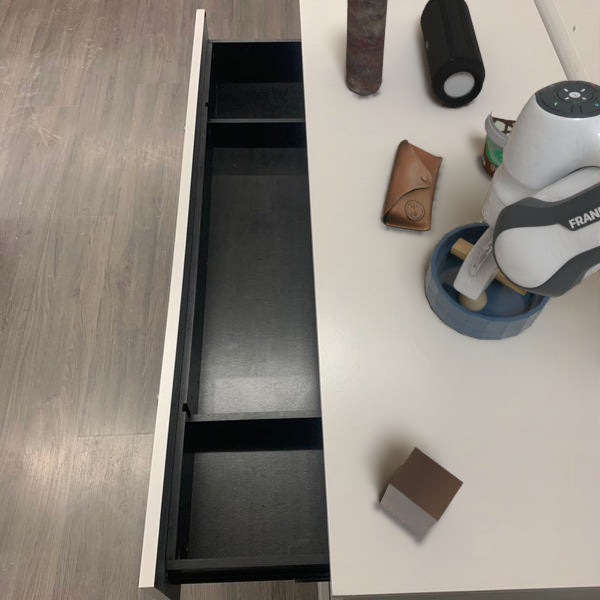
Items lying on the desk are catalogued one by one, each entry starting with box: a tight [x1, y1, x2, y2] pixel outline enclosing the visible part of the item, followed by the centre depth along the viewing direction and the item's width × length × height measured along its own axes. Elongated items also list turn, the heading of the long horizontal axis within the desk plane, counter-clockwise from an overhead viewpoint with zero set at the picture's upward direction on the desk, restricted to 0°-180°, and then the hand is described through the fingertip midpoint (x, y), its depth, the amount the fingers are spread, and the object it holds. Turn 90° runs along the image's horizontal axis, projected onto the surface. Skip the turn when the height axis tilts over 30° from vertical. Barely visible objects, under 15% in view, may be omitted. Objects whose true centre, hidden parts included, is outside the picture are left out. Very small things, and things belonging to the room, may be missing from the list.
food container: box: [481, 110, 516, 179], centre depth 90 cm, size 12×6×10 cm, turn 70°
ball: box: [459, 291, 487, 312], centre depth 78 cm, size 4×4×4 cm
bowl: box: [424, 221, 552, 341], centre depth 79 cm, size 17×17×6 cm
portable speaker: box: [419, 0, 486, 108], centre depth 105 cm, size 26×10×10 cm, turn 179°
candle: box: [345, 0, 388, 96], centre depth 100 cm, size 8×7×20 cm
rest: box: [379, 446, 464, 538], centre depth 61 cm, size 6×5×12 cm
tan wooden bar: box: [451, 238, 527, 295], centre depth 76 cm, size 12×2×1 cm, turn 50°
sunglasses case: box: [382, 138, 444, 232], centre depth 92 cm, size 18×7×7 cm
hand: (491, 267), depth 77 cm, fingers closed on tan wooden bar, 2 cm apart
